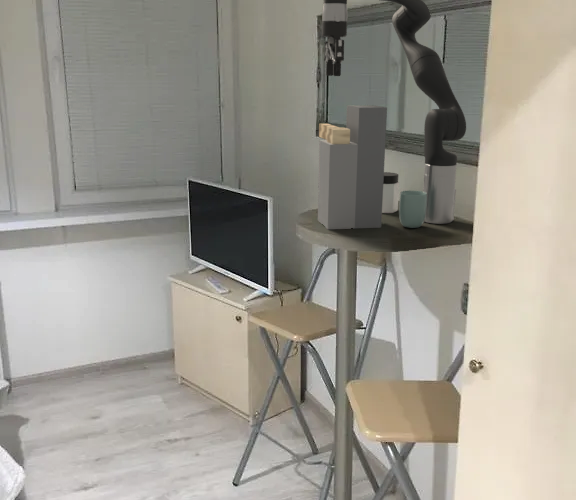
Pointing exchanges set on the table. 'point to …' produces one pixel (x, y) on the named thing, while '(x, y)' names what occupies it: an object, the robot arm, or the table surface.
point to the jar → (390, 192)
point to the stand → (354, 172)
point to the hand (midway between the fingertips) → (333, 75)
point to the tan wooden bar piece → (334, 134)
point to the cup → (412, 208)
